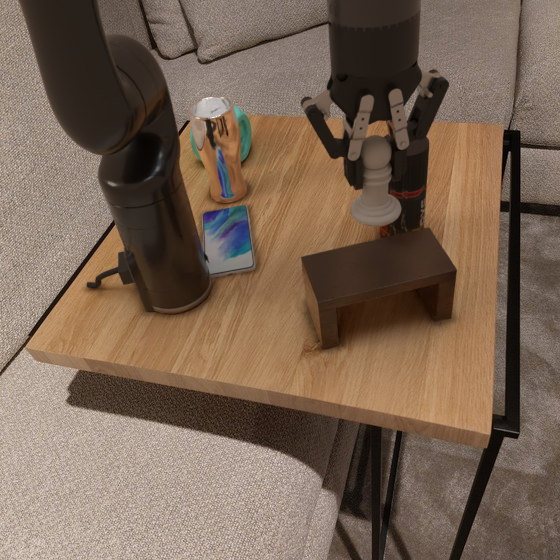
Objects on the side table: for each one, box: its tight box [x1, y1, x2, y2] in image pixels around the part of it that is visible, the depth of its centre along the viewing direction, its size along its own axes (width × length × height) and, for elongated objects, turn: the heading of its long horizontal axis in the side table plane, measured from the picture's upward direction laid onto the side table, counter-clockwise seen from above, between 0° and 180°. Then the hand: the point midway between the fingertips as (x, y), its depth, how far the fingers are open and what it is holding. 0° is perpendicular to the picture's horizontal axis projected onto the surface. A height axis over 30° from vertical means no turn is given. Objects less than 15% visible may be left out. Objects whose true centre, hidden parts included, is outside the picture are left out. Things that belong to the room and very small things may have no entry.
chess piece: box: [349, 134, 401, 228], centre depth 59 cm, size 5×5×9 cm
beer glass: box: [188, 95, 248, 204], centre depth 90 cm, size 7×7×15 cm
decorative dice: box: [189, 104, 252, 163], centre depth 100 cm, size 8×8×8 cm
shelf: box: [300, 226, 458, 350], centre depth 70 cm, size 16×8×8 cm, turn 102°
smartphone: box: [201, 204, 257, 279], centre depth 86 cm, size 7×1×15 cm
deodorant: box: [379, 133, 430, 239], centre depth 77 cm, size 6×6×15 cm
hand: (374, 180), depth 59 cm, fingers closed on chess piece, 3 cm apart
